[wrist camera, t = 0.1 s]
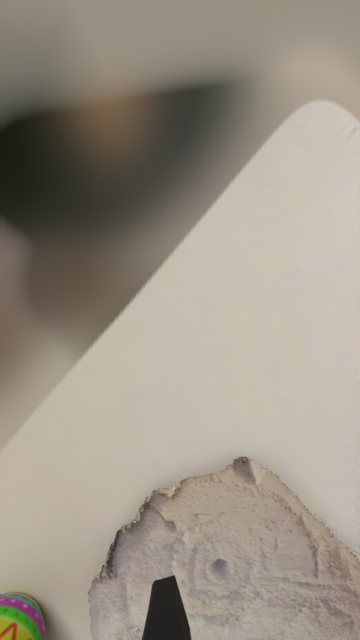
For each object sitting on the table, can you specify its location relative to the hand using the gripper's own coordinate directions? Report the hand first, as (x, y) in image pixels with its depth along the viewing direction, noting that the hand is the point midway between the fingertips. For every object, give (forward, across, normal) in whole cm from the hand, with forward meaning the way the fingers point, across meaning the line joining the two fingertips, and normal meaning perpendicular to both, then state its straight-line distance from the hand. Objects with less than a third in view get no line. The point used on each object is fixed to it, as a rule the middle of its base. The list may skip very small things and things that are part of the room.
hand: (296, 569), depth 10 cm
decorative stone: (+9, 0, +12) cm, 15 cm away
